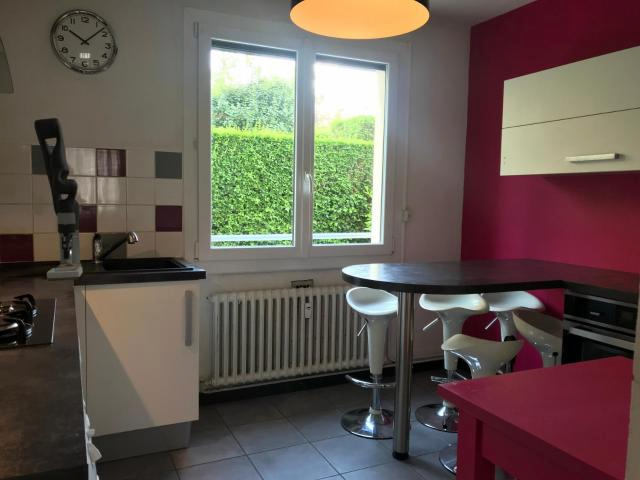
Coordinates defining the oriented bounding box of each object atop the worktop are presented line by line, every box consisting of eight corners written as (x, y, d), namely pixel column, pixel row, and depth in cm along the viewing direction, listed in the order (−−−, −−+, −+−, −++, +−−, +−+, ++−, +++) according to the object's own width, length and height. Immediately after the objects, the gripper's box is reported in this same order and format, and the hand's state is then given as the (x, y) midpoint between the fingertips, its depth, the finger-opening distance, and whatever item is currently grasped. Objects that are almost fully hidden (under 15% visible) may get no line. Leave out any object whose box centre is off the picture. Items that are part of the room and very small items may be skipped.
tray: (52, 275, 237) (52, 268, 236) (82, 274, 240) (82, 267, 240) (47, 280, 225) (46, 272, 224) (78, 279, 229) (78, 271, 228)
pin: (67, 270, 245) (66, 249, 244) (73, 270, 245) (72, 249, 244) (66, 271, 242) (65, 249, 241) (72, 271, 243) (71, 249, 242)
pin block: (60, 271, 247) (60, 264, 246) (81, 271, 250) (81, 263, 249) (57, 275, 238) (56, 267, 238) (78, 274, 241) (78, 266, 241)
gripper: (60, 221, 247) (61, 255, 249) (54, 223, 233) (56, 260, 235) (77, 221, 249) (79, 255, 251) (73, 223, 235) (74, 259, 237)
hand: (68, 257), depth 243 cm, fingers open, 8 cm apart
